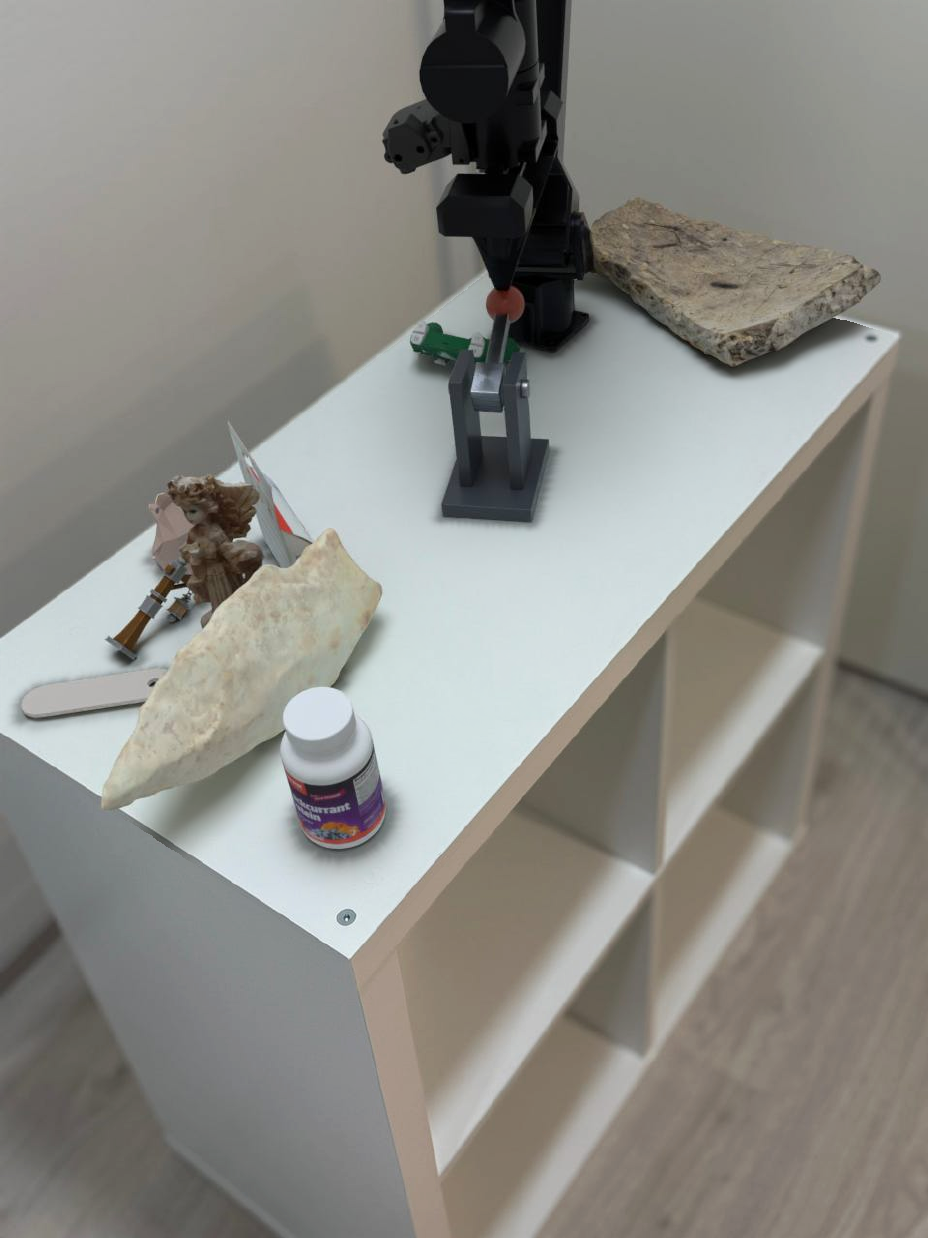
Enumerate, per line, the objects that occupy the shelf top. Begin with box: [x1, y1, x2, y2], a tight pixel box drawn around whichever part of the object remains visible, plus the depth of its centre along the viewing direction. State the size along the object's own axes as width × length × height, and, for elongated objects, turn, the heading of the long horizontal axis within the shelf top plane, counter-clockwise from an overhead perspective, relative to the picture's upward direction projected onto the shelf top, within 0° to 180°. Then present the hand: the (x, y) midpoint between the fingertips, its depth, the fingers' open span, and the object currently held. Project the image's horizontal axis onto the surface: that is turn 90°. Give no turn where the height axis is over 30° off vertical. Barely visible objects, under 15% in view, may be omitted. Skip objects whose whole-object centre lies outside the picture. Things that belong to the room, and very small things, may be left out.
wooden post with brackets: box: [104, 557, 194, 661], centre depth 90 cm, size 2×8×4 cm, turn 139°
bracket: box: [440, 350, 551, 523], centre depth 96 cm, size 9×7×11 cm
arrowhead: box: [100, 527, 383, 811], centre depth 79 cm, size 10×6×25 cm
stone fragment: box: [589, 196, 882, 367], centre depth 115 cm, size 28×6×20 cm
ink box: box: [226, 420, 315, 568], centre depth 90 cm, size 3×9×12 cm, turn 26°
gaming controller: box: [409, 319, 521, 366], centre depth 111 cm, size 9×4×6 cm
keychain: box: [20, 668, 168, 719], centre depth 86 cm, size 10×1×3 cm
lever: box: [470, 285, 525, 414], centre depth 95 cm, size 11×3×3 cm, turn 168°
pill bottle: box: [279, 687, 387, 850], centre depth 74 cm, size 5×5×10 cm
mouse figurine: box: [148, 492, 195, 576], centre depth 93 cm, size 5×8×7 cm, turn 58°
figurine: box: [166, 472, 266, 629], centre depth 83 cm, size 7×6×15 cm
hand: (510, 265), depth 98 cm, fingers open, 7 cm apart
